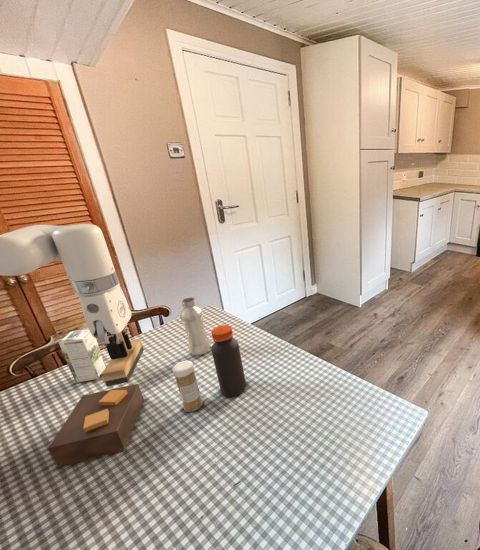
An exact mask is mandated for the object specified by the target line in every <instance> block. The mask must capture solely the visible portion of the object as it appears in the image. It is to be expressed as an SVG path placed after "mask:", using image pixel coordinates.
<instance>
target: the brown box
mask: <svg viewBox="0 0 480 550" xmlns="http://www.w3.org/2000/svg"><path fill="white" fill-rule="evenodd" d="M110 390H127V393H128V394H127V395H126V396H125V397H124V398H123V399H122V400H121V401H120V402H119V403H118V404H117V405H99V401H100V400H101V399H102V398H103V397H104V396H105V395H106V394H107V393H108V392H109V391H110ZM144 399H145V398H144V396H143V393H142V389H141V387H140V385H139V383H136V384H131V385H130V384H129V385H126V386H120V387H116V388H112V389H106V390H102V391H97V392H92V393H88V394H83V395H82V396H81V397H80V399H79V400H78V402H77V403H76V404H75V407H74V408H73V410H72V411H71V412H70V414H69V416H68V417H67V418H66V420H65V421H64V423H63V424H62V426H61V428H60V429H59V431H58V432H57V434H56V435H55V436H54V438H53V440H52V441H51V443H50V444H49V446H48V447H47V451H48V452H49V454H50V456H51V457H52V459H53V461H54V463H55V465H56V466H57V468H58V469H60V468H65V467H67V466H71V465H74V464H75V465H76V464H78V463H82V462H86V461H90V460H94V459H97V458H101V457H104V456H107V455H112V454H114V453H120V452H123V451H125V450H126V449H127V445H128V443H129V440H130V438H131V436H132V432H133V430H134V428H135V425H136V423H137V420H138V418H139V415H140V413H141V410H142V408H143V405H144V403H145V400H144ZM105 409H108V411H109V418H108V424H106V425H103V426H100V427H98V428H95V429H92V430H90V431H87V432H85V431H84V429H83V427H84V422H85V417H86V416H88V415H91V414H94V413H97V412H100V411H102V410H105Z"/></svg>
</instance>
